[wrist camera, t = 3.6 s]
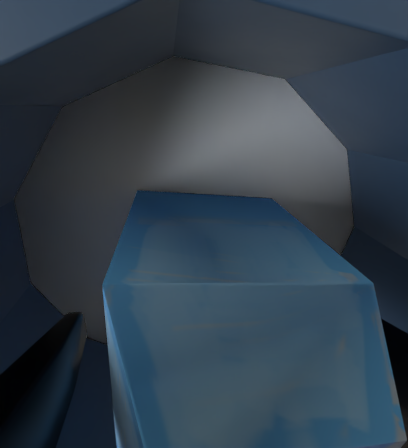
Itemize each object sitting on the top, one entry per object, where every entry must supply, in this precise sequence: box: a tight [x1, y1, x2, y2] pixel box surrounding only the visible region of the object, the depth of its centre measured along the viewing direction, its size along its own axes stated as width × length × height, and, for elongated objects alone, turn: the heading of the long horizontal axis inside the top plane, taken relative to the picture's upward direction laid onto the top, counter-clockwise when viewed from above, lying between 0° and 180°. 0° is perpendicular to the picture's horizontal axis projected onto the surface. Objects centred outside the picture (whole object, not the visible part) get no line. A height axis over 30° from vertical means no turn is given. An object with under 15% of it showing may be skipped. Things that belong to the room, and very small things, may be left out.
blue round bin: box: [0, 0, 408, 448], centre depth 10 cm, size 18×18×6 cm
